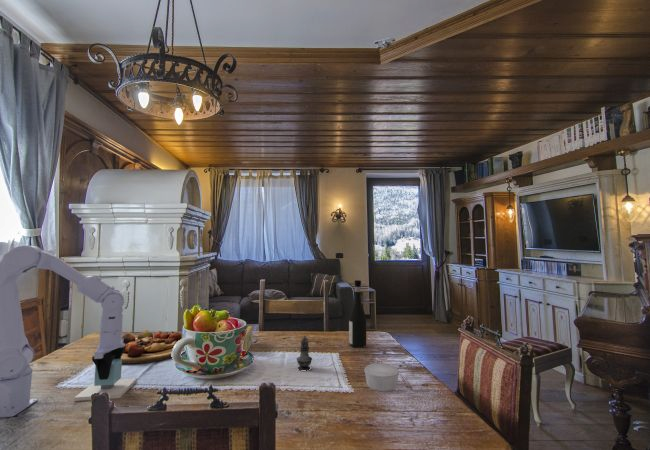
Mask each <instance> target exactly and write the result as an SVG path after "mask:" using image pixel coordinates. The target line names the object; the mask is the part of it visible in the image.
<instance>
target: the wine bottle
mask: <svg viewBox="0 0 650 450" xmlns="http://www.w3.org/2000/svg"><path fill="white" fill-rule="evenodd" d="M361 289H362V280H357V279H356V280H354V303H353V306H352V309H351V311H350V313H349V318H348V319H349V320H348V344H349V346H350V347H351V348H355V347H362V348H365V347H366V346H367V317H366V313H365V311H364V310H365V309H364V308H363V304H362V300H361V299H362V298H361V294H362V293H361V292H362V291H361ZM364 346H365V347H364Z"/></svg>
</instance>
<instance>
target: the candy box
mask: <svg viewBox="0 0 650 450" xmlns="http://www.w3.org/2000/svg"><path fill="white" fill-rule="evenodd" d="M246 330H247V333H246V337H245V341H244V345H243V350H245V351H248V350H250V349H251V347H252V345H253V325H248V326H247V328H246ZM246 330H245V331H246ZM251 344H252V345H251ZM250 346H251V347H250ZM248 352H249V351H248Z"/></svg>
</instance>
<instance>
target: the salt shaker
mask: <svg viewBox="0 0 650 450" xmlns="http://www.w3.org/2000/svg"><path fill="white" fill-rule="evenodd" d="M299 349H300V354H299V356H297V357H296V361H297V364H298V365H299V366H297V368H298V369H299V370H306V371H305V372H308V371H307V370H309V369H310V367H311V366H310V365H311V363H312V361H313V358H312V357H311V356H310V355H309V352H310V351H309V350H310V347H309V339H308V338H307V337H306V335H304V336H303V338H301V340H300V348H299ZM299 370H298V371H299ZM309 371H310V370H309Z"/></svg>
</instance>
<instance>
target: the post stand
mask: <svg viewBox="0 0 650 450" xmlns="http://www.w3.org/2000/svg"><path fill="white" fill-rule="evenodd" d="M136 382H137V378H124V379H122V378H120V379H119V380H118V381H117V382H116V383H115V384H114V385H101V386H94V382H92V383H91V384H90V385H89V386H88V385H87V387H85V388H84V389H83V390H82V391H81V392H79V393H78V394H77V395H75V396H74V398H73V402H81V401H92V400H91V395H92V394H94V393H98V392H107V393H109V395H110V399H109V400H111V399H120V398H122V397H123V396H124V395H125V394H126V393H127V392H128V391H129V390H130V389H131V388H132V387H133V386H134V385H135V384H136Z"/></svg>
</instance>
